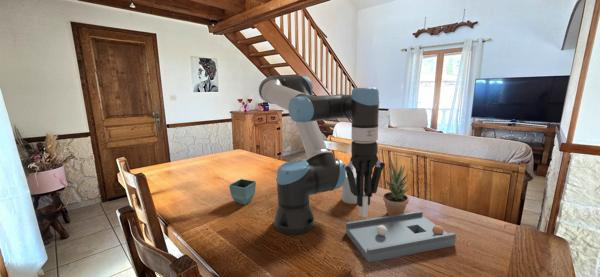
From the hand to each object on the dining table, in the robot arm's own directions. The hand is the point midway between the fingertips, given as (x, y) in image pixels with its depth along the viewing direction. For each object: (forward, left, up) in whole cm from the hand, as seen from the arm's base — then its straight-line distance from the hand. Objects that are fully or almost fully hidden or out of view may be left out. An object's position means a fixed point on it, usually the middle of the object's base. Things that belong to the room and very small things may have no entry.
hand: (363, 214), depth 79 cm
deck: (+13, 0, -11) cm, 17 cm away
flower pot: (-36, +44, -11) cm, 58 cm away
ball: (+7, 0, -7) cm, 10 cm away
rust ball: (+24, -5, -7) cm, 25 cm away
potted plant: (+22, +15, -11) cm, 29 cm away
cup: (+11, +32, -11) cm, 36 cm away
